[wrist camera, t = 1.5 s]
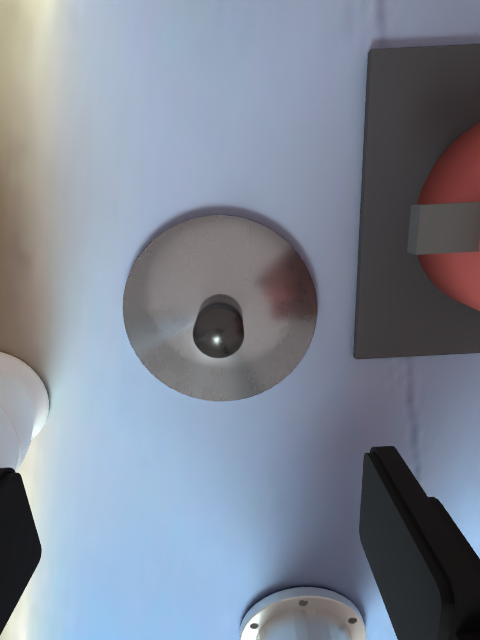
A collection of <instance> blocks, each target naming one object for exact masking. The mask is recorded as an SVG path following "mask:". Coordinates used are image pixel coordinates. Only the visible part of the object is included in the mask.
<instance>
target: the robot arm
mask: <svg viewBox="0 0 480 640" xmlns="http://www.w3.org/2000/svg"><path fill="white" fill-rule="evenodd" d="M359 532H360V539H361V543H362V546H363V549H364V551H365V554H366V557H367V559H368V562H369V565H370V567H371V570H372V572H373V575H374V578H375V580H376V583H377V586H378V588H379V591H380V594H381V596H382V599H383V602H384V604H385V607H386V610H387V612H388V615H389V618H390V620H391V623H392V625H393V628H394V631H395V633H396V636H397V639H398V640H480V559H479V557H478V556H477V554H476V553H475V551H474V550H473V548H472V547H471V546H470V544H469V543H468V541H467V540H466V538H465V537H464V535H463V534H462V533H461V531H460V530H459V528H458V527H457V525H456V524H455V522H454V521H453V520H452V518H451V517H450V515H449V514H448V512H447V511H446V509H445V508H444V506H443V505H442V504H441V503H440V501H439V500H438V499H436V498H435V497H428V496H427V495H426V493H425V492H424V490H423V489H422V487H421V486H420V484H419V483H418V481H417V480H416V478H415V477H414V475H413V474H412V472H411V471H410V469H409V468H408V466H407V465H406V463H405V462H404V460H403V459H402V457H401V456H400V454H399V453H398V451H397V449H396V448H395V447H393V446H383V447H372V448H371V450H370V453H365V454H364V462H363V478H362V494H361V510H360V526H359ZM41 550H42V549H41V544H40V541H39V537H38V534H37V530H36V527H35V523H34V520H33V516H32V512H31V509H30V505H29V502H28V498H27V495H26V491H25V488H24V484H23V481H22V477H21V475H20V474H19V473H16V472H15V470H14V469H13V468H10V467H8V468H0V635H1V633H2V631H3V629H4V627H5V625H6V623H7V622H8V620H9V618H10V616H11V614H12V612H13V610H14V608H15V607H16V605H17V603H18V601H19V599H20V597H21V595H22V593H23V592H24V590H25V588H26V586H27V584H28V582H29V580H30V578H31V577H32V575H33V573H34V571H35V569H36V567H37V565H38V563H39V561H40V558H41ZM239 640H366V628H365V625H364V622H363V618H362V616H361V614H360V612H359V610H358V609H357V607H356V606H355V605H354V604H353V603H352V602H351V601H350V600H348V599H347V598H345V597H344V596H342V595H340V594H338V593H336V592H334V591H330V590H326V589H323V588H315V587H296V588H290V589H285V590H282V591H279V592H275V593H273V594H271V595H269V596H267V597H265V598H263V599H262V600H261V601H259V602H258V603H256V604H255V605H254V606H253V607H252V608H251V609H250V610H249V611H248V612H247V614H246V615H245V617H244V619H243V620H242V623H241V626H240V635H239Z"/></svg>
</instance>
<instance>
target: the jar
mask: <svg viewBox="0 0 480 640" xmlns="http://www.w3.org/2000/svg"><path fill="white" fill-rule="evenodd" d="M48 413H49V399H48V394H47V391H46V389H45V386H44V384H43V382H42V381H41V379H40V378H39V376H38V375H37V374H36V373H35V372H34V371H33V370H32V369H31V368H30V367H29V366H28V365H27V364H25V363H24V362H22V361H21V360H19V359H17V358H15V357H13V356H11V355H9V354H6V353H2V352H0V468H8V467H10V468H13V469H14V470H15V472H17V470H18V469H19V467H20V465H21V463H22V461H23V459H24V457H25V455H26V453H27V450H28V448H29V445H30V442H31V439H32V438H34V437H35V436H36V435H37V434H38V433H39V432H40V431H41V429H42V428H43V426H44V425H45V423H46V420H47V417H48Z"/></svg>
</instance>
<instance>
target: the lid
mask: <svg viewBox="0 0 480 640" xmlns="http://www.w3.org/2000/svg"><path fill="white" fill-rule="evenodd" d="M123 317H124V324H125V328H126V333H127V335H128V338H129V341H130V344H131V346H132V347H133V349H134V351H135V353H136V355H137V356H138V358H139V359H140V361H141V362H142V364H143V365H144V366H145V367H146V368H147V369H148V370H149V371H150V373H151V374H153V375H154V376H155V377H156V378H157V379H158V380H160V381H161V382H162V383H164V384H165V385H167V386H168V387H170V388H172V389H174V390H176V391H178V392H180V393H182V394H185V395H187V396H190V397H194V398H198V399H202V400H209V401H233V400H240V399H244V398H248V397H252V396H254V395H257V394H260V393H262V392H264V391H266V390H268V389H270V388H272V387H273V386H275V385H276V384H278V383H279V382H281V381H282V380H283V379H284V378H285V377H287V376H288V375H289V374H290V373H291V372H292V371H293V370H294V368H295V367H296V366H297V365H298V364H299V362H300V361H301V359H302V358H303V356H304V355H305V353H306V351H307V349H308V347H309V345H310V342H311V340H312V337H313V334H314V330H315V325H316V317H317V301H316V294H315V289H314V285H313V282H312V279H311V276H310V273H309V271H308V269H307V267H306V265H305V263H304V262H303V260H302V259H301V258H300V256H299V255H298V253H297V252H296V251H295V250H294V249H293V248H292V246H291V245H290V244H289V243H288V242H287V241H285V240H284V239H283V238H282V237H281V236H279V235H278V234H277V233H275V232H274V231H272V230H270V229H269V228H267V227H266V226H263V225H261V224H259V223H257V222H255V221H252V220H248V219H245V218H241V217H236V216H229V215H210V216H202V217H198V218H194V219H190V220H187V221H184V222H182V223H180V224H177V225H175V226H173V227H171V228H170V229H168V230H166V231H164V232H163V233H162V234H160V235H159V236H158V237H156V238H155V239H154V240H153V241H152V242H151V243H150V244H149V245H148V246H147V247H146V248H145V249H144V250H143V252H142V253H141V254H140V256H139V257H138V259H137V260H136V262H135V264H134V265H133V267H132V269H131V271H130V274H129V277H128V280H127V282H126V286H125V291H124V297H123Z"/></svg>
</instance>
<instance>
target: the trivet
mask: <svg viewBox="0 0 480 640" xmlns="http://www.w3.org/2000/svg"><path fill="white" fill-rule="evenodd" d="M478 123H480V44H467V45H447V46H427V47H407V48H386V49H371V50H370V52H369V53H368V64H367V85H366V106H365V126H364V147H363V168H362V188H361V209H360V229H359V250H358V271H357V291H356V312H355V333H354V353H353V356H354V358H355V359H371V358H390V357H409V356H428V355H447V354H466V353H480V311H478V310H476V309H474V308H471V307H469V306H467V305H465V304H462V303H460V302H458V301H456V300H454V299H452V298H450V297H448V296H447V295H445V294H444V293H442V292H441V291H440V290H439V289H438V288H437V287H436V286H435V285H434V284H433V283H432V282H431V280H430V279H429V278H428V276H427V275H426V273H425V271H424V270H423V268H422V265H421V263H420V260H419V258H418V255H415V254H411V253H408V252H407V247H408V236H409V224H410V213H411V205H417V204H418V200H419V196H420V193H421V191H422V188H423V186H424V183H425V181H426V179H427V177H428V176H429V174H430V172H431V170H432V168H433V167H434V165H435V164H436V162H437V161H438V160H439V158H440V157H441V155H442V154H443V153H444V152H445V151H446V150H447V149H448V147H449V146H450V145H451V144H452V143H453V142H454V141H455V140H457V139H458V138H459V137H460V136H461V135H462V134H463V133H465V132H466V131H467V130H469V129H470V128H472V127H473V126H474V125H476V124H478Z"/></svg>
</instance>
